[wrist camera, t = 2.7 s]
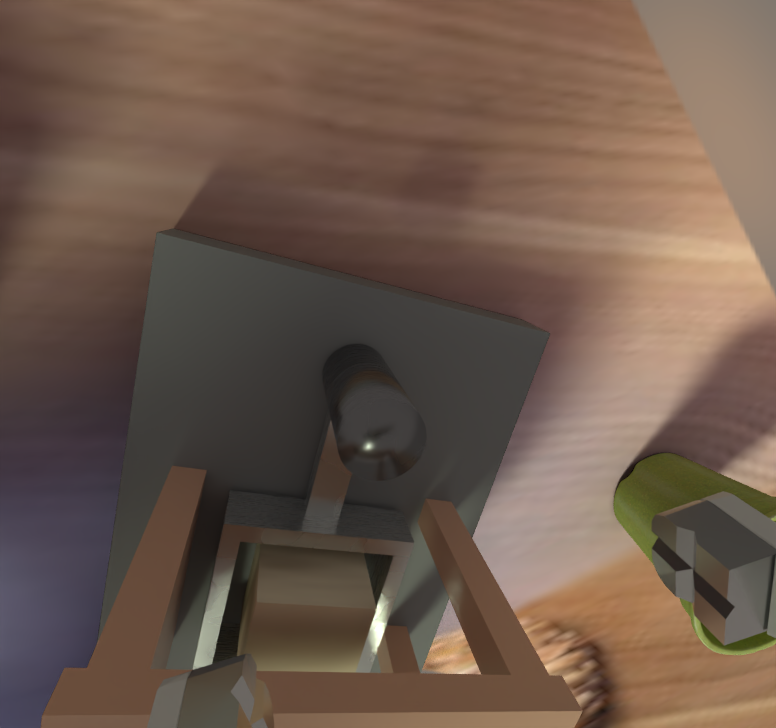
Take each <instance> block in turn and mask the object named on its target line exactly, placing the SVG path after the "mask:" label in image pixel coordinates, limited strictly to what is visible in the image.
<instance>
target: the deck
mask: <svg viewBox="0 0 776 728" xmlns="http://www.w3.org/2000/svg"><path fill="white" fill-rule="evenodd" d="M549 335H550V333H548V332H546V331H544V330H542V329H540V328H538V327H536V326H534V325H532V324H530V323H528V322H526V321H524V320H522V319H518V318H514V317H510V316H506V315H503V314H499V313H495V312H491V311H487V310H483V309H480V308H476V307H472V306H468V305H464V304H460V303H457V302H453V301H449V300H445V299H441V298H437V297H434V296H430V295H426V294H422V293H418V292H414V291H411V290H407V289H403V288H399V287H395V286H391V285H388V284H384V283H380V282H376V281H372V280H368V279H365V278H361V277H357V276H353V275H349V274H345V273H342V272H338V271H334V270H330V269H326V268H323V267H319V266H315V265H311V264H307V263H303V262H300V261H296V260H292V259H288V258H284V257H280V256H277V255H273V254H269V253H265V252H261V251H257V250H254V249H250V248H246V247H242V246H238V245H234V244H231V243H227V242H223V241H219V240H215V239H211V238H208V237H204V236H200V235H196V234H192V233H188V232H185V231H181V230H177V229H169V230H165V231H161V232H157V234H156V240H155V247H154V254H153V261H152V268H151V275H150V282H149V289H148V295H147V302H146V309H145V316H144V323H143V330H142V337H141V344H140V350H139V357H138V364H137V371H136V378H135V385H134V392H133V399H132V405H131V412H130V419H129V426H128V433H127V440H126V447H125V454H124V460H123V467H122V474H121V481H120V488H119V495H118V502H117V509H116V515H115V522H114V529H113V536H112V543H111V550H110V557H109V564H108V570H107V577H106V584H105V591H104V598H103V605H102V612H101V619H100V625H99V632H98V639H97V642H98V640H99V638H100V635H101V633H102V631H103V628H104V626H105V624H106V621H107V619H108V616H109V614H110V612H111V609H112V607H113V605H114V602H115V600H116V597H117V595H118V593H119V590H120V588H121V586H122V583H123V581H124V578H125V576H126V574H127V571H128V569H129V567H130V564H131V562H132V560H133V557H134V555H135V552H136V550H137V548H138V545H139V543H140V541H141V538H142V536H143V533H144V531H145V529H146V526H147V524H148V522H149V519H150V517H151V514H152V512H153V510H154V507H155V505H156V503H157V500H158V498H159V496H160V493H161V491H162V488H163V486H164V484H165V481H166V479H167V477H168V474H169V472H170V469H171V467H172V466H179V467H187V468H195V469H202V470H207V472H206V477H205V482H204V487H203V492H202V497H201V502H200V507H199V512H198V517H197V522H196V527H195V532H194V537H193V542H192V547H191V552H190V557H189V562H188V567H187V572H186V578H185V583H184V588H183V593H182V598H181V603H180V608H179V613H178V618H177V623H176V628H175V633H174V638H173V642H172V646H171V650H170V654H169V658H168V662H167V666H166V669H178V670H192V668H193V663H194V658H195V653H196V647H197V642H198V637H199V632H200V628H201V623H202V618H203V614H204V609H205V604H206V600H207V595H208V591H209V586H210V581H211V577H212V572H213V567H214V563H215V558H216V554H217V549H218V544H219V540H220V535H221V530H222V526H223V521H224V517H225V512H226V507H227V503H228V498H229V493H230V490H234V491H243V492H251V493H259V494H268V495H276V496H284V497H293V498H301V499H305V495H306V491H307V488H308V484H309V480H310V476H311V472H312V469H313V465H314V461H315V457H316V454H317V450H318V446H319V442H320V438H321V435H322V431H323V427H324V423H325V420H326V416H327V412H328V404H327V400H326V395H325V391H324V386H323V382H322V371H323V367H324V364H325V362H326V360H327V359H328V357H329V356H330V355H331V354H332V353H333V352H334V351H336V350H337V349H339V348H341V347H343V346H345V345H349V344H364V345H368V346H370V347H372V348H374V349H375V350H376V351H378V352H379V353H380V354H381V356H382V357H383V358H384V360H385V362H386V363H387V365H388V366H389V368H390V369H391V371H392V372H393V374H394V375H395V377H396V379H397V380H398V382H399V383H400V385H401V386H402V388H403V389H404V391H405V392H406V394H407V396H408V397H409V399H410V400H411V402H412V403H413V405H414V406H415V408H416V409H417V411H418V412H419V414H420V416H421V417H422V419H423V421H424V423H425V426H426V432H427V439H426V445H425V449H424V451H423V453H422V455H421V457H420V459H419V460H418V461H417V463H416V464H415V465H414V466H413V467H412V468H411V469H409V470H408V471H407V472H405V473H404V474H402V475H400V476H398V477H396V478H393V479H389V480H384V481H370V480H365V479H362V478H360V477H358V476H356V475H354V474H353V473H352V475H351V478H350V482H349V485H348V489H347V492H346V496H345V499H344V502H343V504H351V505H359V506H368V507H376V508H384V509H393V510H401V511H402V512H403V514H404V517H405V520H406V522H407V525H408V527H409V530H410V532H411V535H412V538H413V540H414V546H413V549H412V552H411V555H410V558H409V561H408V563H407V566H406V569H405V572H404V575H403V578H402V581H401V584H400V587H399V590H398V592H397V595H396V598H395V601H394V604H393V607H392V610H391V613H390V616H389V619H388V621H387V624H386V625H390V626H407V629H408V633H409V636H410V640H411V643H412V646H413V650H414V653H415V657H416V660H417V664H418V667H419V670H420V673H421V671H422V668H423V665H424V663H425V660H426V658H427V655H428V652H429V650H430V647H431V645H432V642H433V639H434V637H435V634H436V631H437V629H438V626H439V624H440V621H441V618H442V616H443V613H444V610H445V608H446V605H447V603H448V600H449V596H448V594H447V591H446V589H445V587H444V584H443V582H442V579H441V577H440V575H439V572H438V570H437V568H436V565H435V563H434V560H433V558H432V556H431V553H430V551H429V549H428V546H427V544H426V541H425V539H424V537H423V534H422V532H421V530H420V527H419V525H418V519H419V516H420V514H421V511H422V508H423V505H424V502H425V499H434V500H442V501H449V502H452V504H453V506H454V507H455V509H456V511H457V513H458V514H459V516H460V518H461V520H462V521H463V523H464V525H465V527H466V529H467V530H468V532H469V534H470V536H471V537H473V534H474V532H475V529H476V527H477V524H478V521H479V519H480V516H481V514H482V511H483V508H484V506H485V503H486V500H487V498H488V495H489V493H490V490H491V487H492V485H493V482H494V479H495V477H496V474H497V472H498V469H499V466H500V464H501V461H502V459H503V456H504V453H505V451H506V448H507V445H508V443H509V440H510V438H511V435H512V432H513V430H514V427H515V424H516V422H517V419H518V417H519V414H520V411H521V409H522V406H523V403H524V401H525V398H526V396H527V393H528V390H529V388H530V385H531V383H532V380H533V377H534V375H535V372H536V369H537V367H538V364H539V362H540V359H541V356H542V354H543V351H544V348H545V346H546V343H547V341H548V338H549ZM256 545H257V543H250V542H240V544H239V548H238V553H237V557H236V561H235V566H234V570H233V575H232V579H231V583H230V588H229V592H228V596H227V601H226V605H225V609H224V614H223V618H222V623H240V621H241V612H242V603H243V598H244V594H245V590H246V586H247V582H248V578H249V574H250V569H251V565H252V561H253V557H254V553H255V549H256ZM364 556H365V561H366V565H367V569H368V568H369V565H370V562H371V559H372V556H373V554H371V553H364ZM370 673H381V670H380V665H379V661H378V656H377V653H376V656H375V659H374V662H373V665H372V668H371V671H370Z"/></svg>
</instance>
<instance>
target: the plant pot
mask: <svg viewBox="0 0 776 728" xmlns="http://www.w3.org/2000/svg"><path fill="white" fill-rule="evenodd" d="M723 491H724V492H728V493H731V494H733V495H735V496H736V497H738V498H739V499H741V500H742V501H744V502H745V503H747V504H748V505H750V506H751V507H753V508H754V509H756V510H757V511H759V512H760V513H762V514H764V515H765V516H767V517H768V518H770V519H771V520H773V521H774V522H776V497H772V496H769V495H767V494H765V493H763V492H760V491H758V490H756V489H753V488H751V487H749V486H747V485H744V484H742V483H740V482H737V481H735V480H733V479H731V478H728V477H726V476H724V475H722V474H719V473H717V472H715V471H713V470H710V469H708V468H706V467H704V466H702V465H699V464H697V463H695V462H693V461H691V460H688V459H686V458H684V457H682V456H679V455H677V454H673V453H660V454H656V455H653V456H650V457H647V458H645V459H643V460H642V461H640V462H639V463H637V464H636V465H635V468H634V470H633V472H632V473H631V474H630V475H629V476H628V477H627V478H626V479H624V480H622V481H621V482H620V484H619V486H618V488H617V490H616V493H615V497H614V512H615V516H616V518H617V520H618V521H619V522H620V524H621V525H622V526H623V528H624V529H625V530H626V531H627V532H628V534H629V535H630V536H631V537H632V539H633V540H634V541H635V542H636V543H637V545H638V546H639V547H640V548H641V550H642V551H643V552H644V553H645V555H646V556H647V557H648V558H649V560H650V561H651V562H652V563H653V561H652V547H653V545H654V543H655V542H656V540H657V539H658V536H657V535H656V534H655V533H653V532H652V519H653V517H654V516H655V515H656V514H659V513H662V512H664V511H667V510H670V509H673V508H676V507H679V506H681V505H684V504H687V503H690V502H693V501H696V500H700V499H702V498H705V497H708V496H711V495H714V494H717V493H720V492H723ZM653 565H654V564H653ZM680 601H681V604H682V606H683V607H684V609H685V610H686V612H687V613H688V614H689V616H690V617H691V622H692V626H693V628H694V631H695V633H696V635H697V636H698V638H699V639H700V640H701V641H702V642H703V644H704V645H705V646H707V647H708V648H709V649H711V650H713V651H715V652H717V653H721V654H728V655H745V654H750V653H754V652H756V651H759V650H763V649H766V648H768V647H770V646H773V645H774V644H776V638H774V637H772V636H770V635H768V634H767V631H765V632H762V633H759V634H756V635H754V636H751V637H748V638H745V639H742V640H739V641H736V642H733V643H730V644H727V645H723V644H722V643H721V642H720V641H719V640H718V639H717V638H716V637H715V636H714V635H713V634H712V633H711V632H710V631H709V630H708V629H707V628H706V627H705V626H704V625H703V624H702V623H701V622H700V621H699V620H698V619H697V618H696V617H695V616H694V611H693V606H692V603H691V602H689V601H686V600H684V599H681V598H680Z"/></svg>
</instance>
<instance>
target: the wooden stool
mask: <svg viewBox="0 0 776 728" xmlns="http://www.w3.org/2000/svg"><path fill="white" fill-rule="evenodd" d="M206 472H207V470H202V469H195V468H187V467H179V466H172V467H171V469H170V472H169V474H168V477H167V479H166V481H165V484H164V486H163V488H162V491H161V493H160V496H159V498H158V500H157V503H156V505H155V507H154V510H153V512H152V514H151V517H150V519H149V522H148V524H147V526H146V529H145V531H144V533H143V536H142V538H141V541H140V543H139V545H138V548H137V550H136V552H135V555H134V557H133V560H132V562H131V564H130V567H129V569H128V571H127V574H126V576H125V578H124V581H123V583H122V586H121V588H120V590H119V593H118V595H117V597H116V600H115V602H114V605H113V607H112V609H111V612H110V614H109V616H108V619H107V621H106V624H105V626H104V628H103V631H102V633H101V635H100V638H99V640H98V642H97V645H96V647H95V650H94V652H93V654H92V657H91V659H90V661H89V664H88V666H87V668H64V670H63V672H62V674H61V676H60V678H59V681H58V683H57V685H56V687H55V689H54V691H53V693H52V695H51V698H50V700H49V702H48V704H47V706H46V708H45V710H44V712H43V715H42V720H41V728H147V726H148V722H149V718H150V715H151V711H152V707H153V703H154V700H155V696H156V692H157V690H158V688H159V686H160V685H161V683H162V681H163V680H164V679H167V678H170V677H173V676H177V675H180V674H183V673H186V672H189V671H192V670H178V669H166V666H167V662H168V658H169V654H170V650H171V646H172V642H173V638H174V633H175V628H176V623H177V618H178V613H179V608H180V603H181V598H182V593H183V588H184V583H185V578H186V572H187V567H188V562H189V557H190V552H191V547H192V542H193V537H194V532H195V527H196V522H197V517H198V512H199V507H200V502H201V497H202V492H203V487H204V482H205V477H206ZM418 525H419V527H420V530H421V532H422V534H423V537H424V539H425V541H426V544H427V546H428V549H429V551H430V553H431V556H432V558H433V560H434V563H435V565H436V568H437V570H438V572H439V575H440V577H441V579H442V582H443V584H444V587H445V589H446V591H447V594H448V596H449V598H450V601H451V603H452V606H453V608H454V610H455V613H456V615H457V617H458V620H459V622H460V625H461V627H462V629H463V632H464V634H465V636H466V639H467V641H468V643H469V646H470V648H471V651H472V653H473V655H474V658H475V660H476V662H477V665H478V667H479V670H480V672H481V674H482V675H480V674H420V670H419V667H418V664H417V660H416V657H415V653H414V650H413V646H412V643H411V640H410V636H409V633H408V629H407V626H390V625H386V627H385V630H384V633H383V636H382V639H381V642H380V645H379V648H378V650H377V656H378V661H379V665H380V670H381V673H359V672H299V671H256V678H257V679H259V680H261V681H264V682H265V684H266V686H267V689H268V691H269V694H270V698H271V702H272V708H273V717H274V728H574V727H575V725H576V723H577V721H578V719H579V717H580V715H581V713H582V709H581V707H580V706H579V704H578V702H577V701H576V699H575V697H574V696H573V694H572V692H571V691H570V689H569V687H568V685H567V684H566V682H565V680H564V679H563V677H562V676H549V674H548V672H547V670H546V669H545V667H544V665H543V663H542V661H541V660H540V658H539V656H538V654H537V653H536V651H535V649H534V647H533V646H532V644H531V642H530V640H529V638H528V637H527V635H526V633H525V631H524V630H523V628H522V626H521V624H520V623H519V621H518V619H517V617H516V615H515V614H514V612H513V610H512V608H511V607H510V605H509V603H508V601H507V599H506V598H505V596H504V594H503V592H502V591H501V589H500V587H499V585H498V584H497V582H496V580H495V578H494V576H493V575H492V573H491V571H490V569H489V568H488V566H487V564H486V562H485V560H484V559H483V557H482V555H481V553H480V552H479V550H478V548H477V546H476V545H475V543H474V541H473V539H472V537H471V536H470V534H469V532H468V530H467V529H466V527H465V525H464V523H463V521H462V520H461V518H460V516H459V514H458V513H457V511H456V509H455V507H454V506H453V504H452V502H449V501H442V500H434V499H425V502H424V505H423V508H422V511H421V514H420V516H419V519H418Z"/></svg>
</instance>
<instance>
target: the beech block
mask: <svg viewBox="0 0 776 728" xmlns="http://www.w3.org/2000/svg"><path fill="white" fill-rule="evenodd" d="M376 609H377V608H376V604H375V600H374V595H373V591H372V587H371V582H370V578H369V574H368V569H367V565H366V561H365V556H364V553H360V552H349V551H338V550H327V549H316V548H305V547H294V546H283V545H272V544H261V543H257V545H256V549H255V553H254V557H253V561H252V565H251V569H250V574H249V578H248V582H247V586H246V590H245V594H244V598H243V603H242V612H241V621H240V631H239V641H238V651H237V656H240V655H243V654H247V653H251V655H252V657H253V659H254V661H255V663H256V665H257V671H299V672H356V669H357V666H358V663H359V660H360V657H361V654H362V651H363V648H364V645H365V642H366V639H367V636H368V633H369V630H370V627H371V624H372V621H373V618H374V615H375V612H376Z"/></svg>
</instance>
